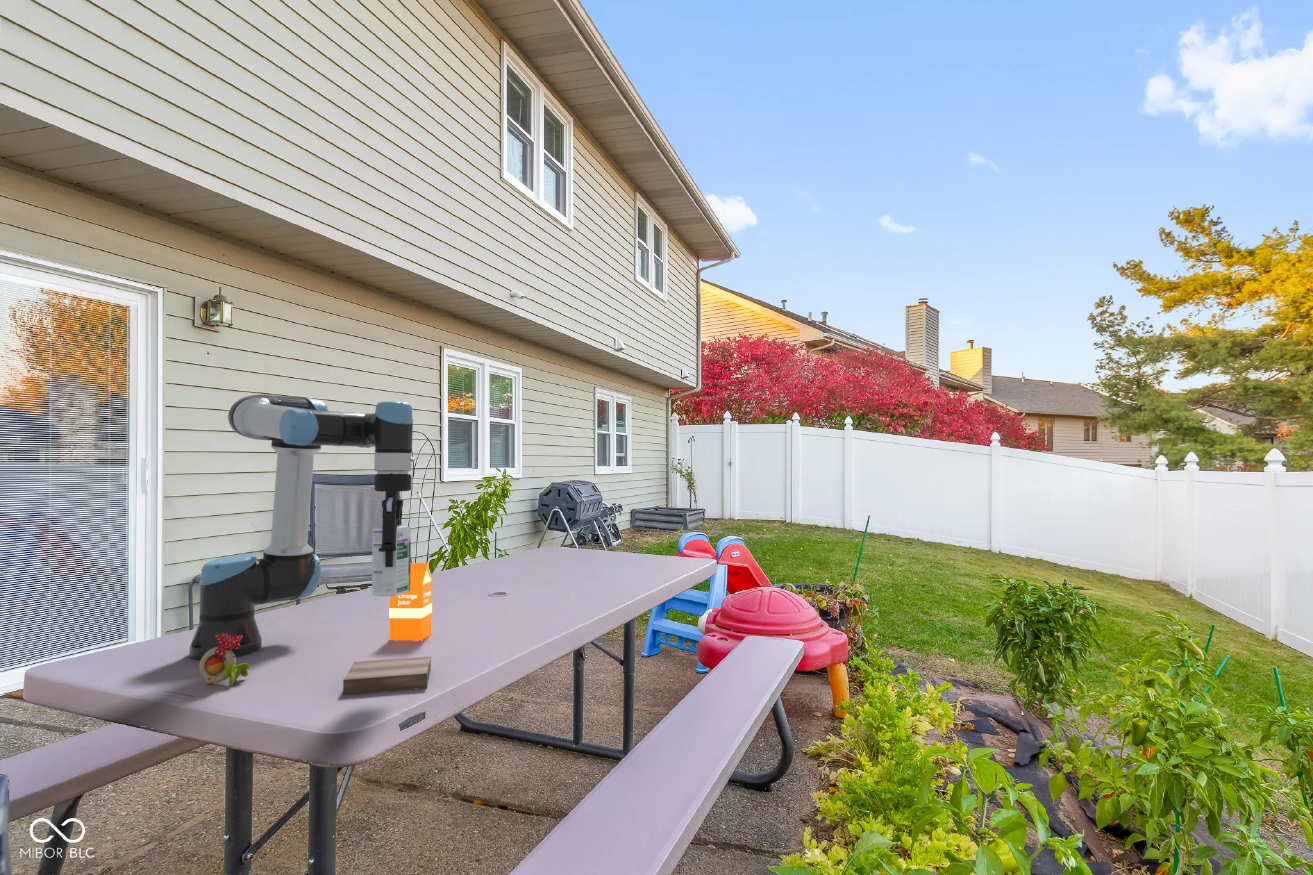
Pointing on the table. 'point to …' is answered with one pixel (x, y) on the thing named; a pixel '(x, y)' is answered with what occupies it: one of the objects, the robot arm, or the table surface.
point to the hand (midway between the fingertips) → (391, 579)
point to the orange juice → (412, 607)
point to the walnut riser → (387, 675)
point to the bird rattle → (223, 661)
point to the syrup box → (403, 563)
